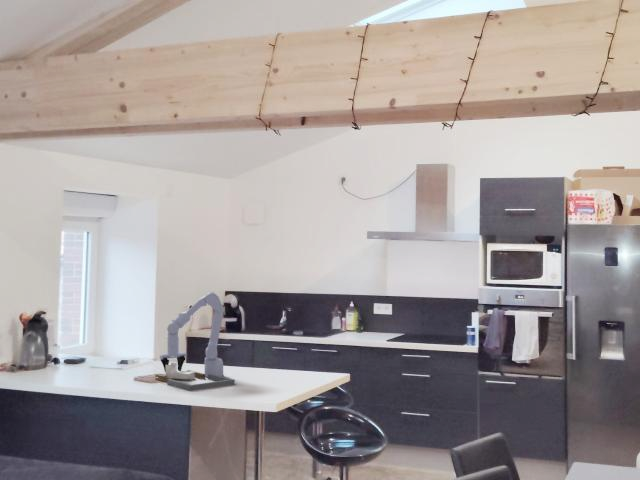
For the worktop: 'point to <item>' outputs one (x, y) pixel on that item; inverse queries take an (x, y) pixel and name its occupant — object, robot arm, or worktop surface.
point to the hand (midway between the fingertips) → (173, 371)
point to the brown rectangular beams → (164, 378)
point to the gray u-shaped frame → (219, 382)
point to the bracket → (178, 373)
